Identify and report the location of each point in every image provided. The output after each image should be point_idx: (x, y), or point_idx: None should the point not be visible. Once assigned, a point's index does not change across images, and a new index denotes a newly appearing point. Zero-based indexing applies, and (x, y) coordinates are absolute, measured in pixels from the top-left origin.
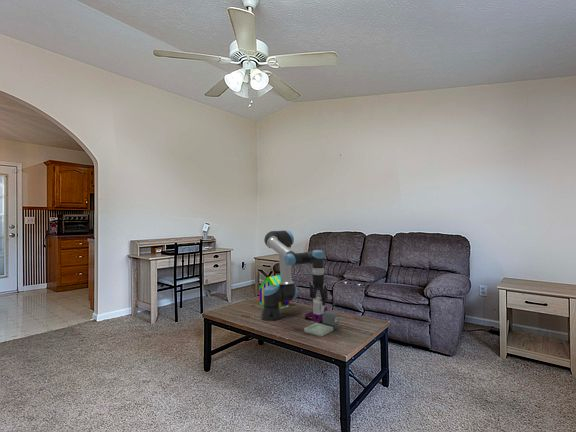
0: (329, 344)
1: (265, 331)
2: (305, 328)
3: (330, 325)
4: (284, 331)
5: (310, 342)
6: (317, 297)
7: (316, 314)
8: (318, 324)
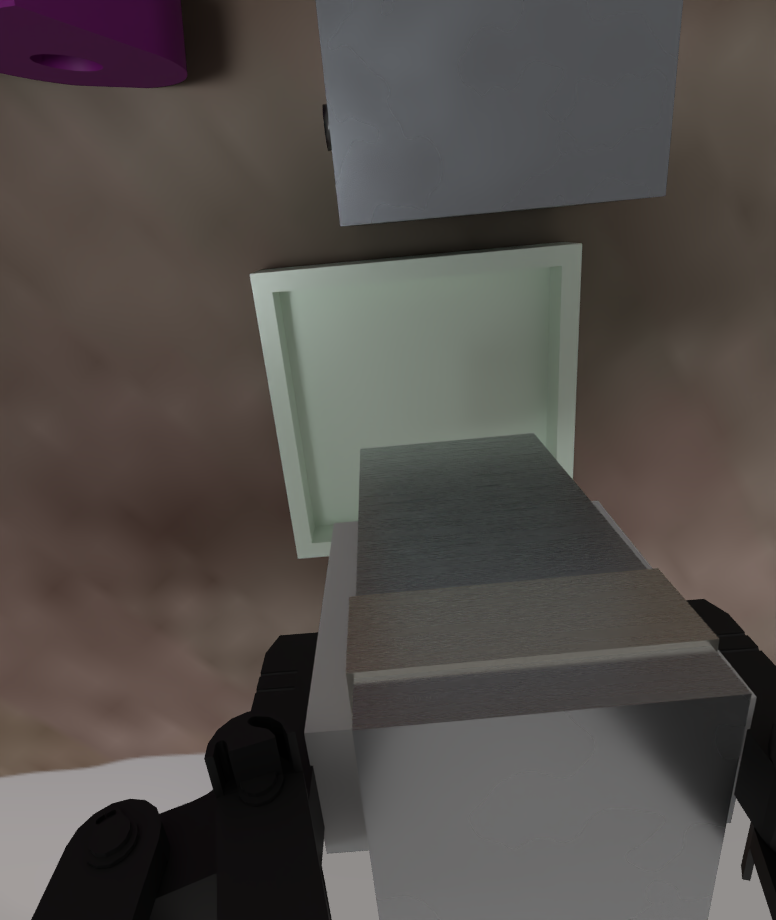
0: (730, 608)
1: (17, 764)
2: (317, 555)
3: (507, 211)
4: (139, 657)
5: None
6: (442, 814)
7: (32, 46)
8: (312, 287)
